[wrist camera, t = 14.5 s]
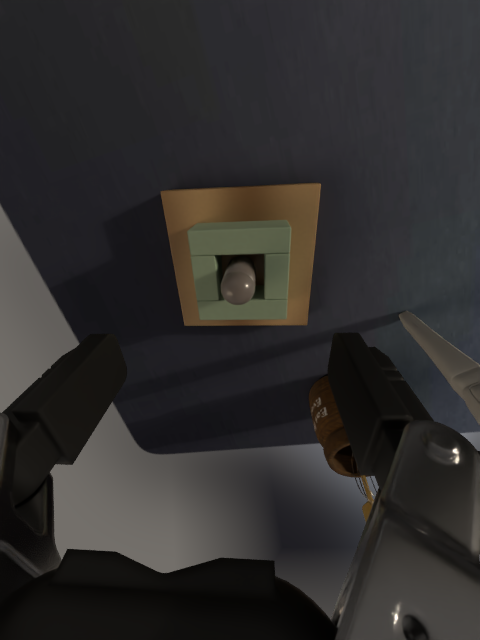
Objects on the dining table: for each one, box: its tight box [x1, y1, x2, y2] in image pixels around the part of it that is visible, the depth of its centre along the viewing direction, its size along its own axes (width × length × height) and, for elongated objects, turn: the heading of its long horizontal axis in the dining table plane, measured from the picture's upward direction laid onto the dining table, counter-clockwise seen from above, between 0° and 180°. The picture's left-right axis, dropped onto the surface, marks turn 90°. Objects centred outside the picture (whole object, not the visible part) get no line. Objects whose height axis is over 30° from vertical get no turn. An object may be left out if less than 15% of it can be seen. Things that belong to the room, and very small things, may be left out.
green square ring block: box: [187, 220, 291, 320], centre depth 17 cm, size 6×6×3 cm
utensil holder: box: [309, 375, 377, 522], centre depth 21 cm, size 6×6×12 cm
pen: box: [399, 311, 480, 425], centre depth 15 cm, size 2×3×14 cm
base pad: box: [161, 183, 321, 326], centre depth 17 cm, size 10×10×6 cm
